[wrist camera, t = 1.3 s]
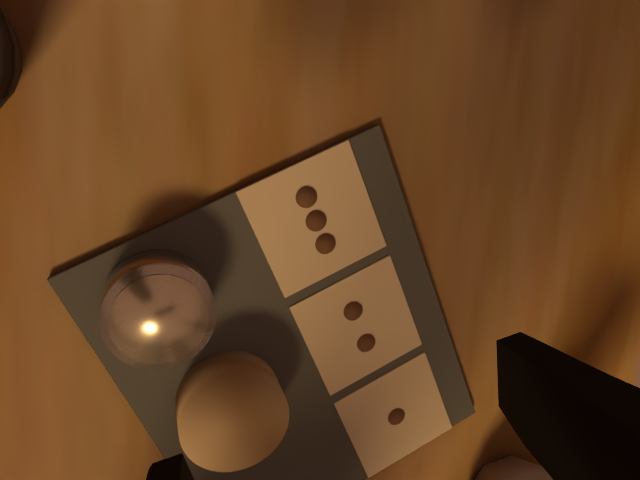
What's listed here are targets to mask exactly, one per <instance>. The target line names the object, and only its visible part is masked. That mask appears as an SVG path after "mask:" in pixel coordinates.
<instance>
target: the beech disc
mask: <svg viewBox="0 0 640 480" xmlns="http://www.w3.org/2000/svg"><path fill="white" fill-rule="evenodd" d="M175 407H176V417H177V426H178V435H179V441H180V444H181V447H182V449H183V451H184V453H185V454H186V455H187V457H188V458H189V459H190V460H191V461H192V462H194V463H195V464H197V465H198V466H200V467H202V468H204V469H207V470H211V471H216V472H233V471H239V470H242V469H246V468H248V467H251V466H253V465H255V464H257V463H259V462H260V461H262V460H263V459H265V458H266V457H267V456H269V455H270V454H271V453H272V452H273V451H274V450H275V449H276V447H277V446H278V445H279V444H280V442H281V441H282V439H283V437H284V435H285V433H286V430H287V427H288V423H289V406H288V402H287V400H286V397H285V395H284V393H283V391H282V389H281V386H280V384H279V382H278V380H277V378H276V376H275V374H274V372H273V370H272V368H271V367H270V366H269V365H268V363H267V362H265V361H264V360H263V359H262V358H260V357H258V356H257V355H254V354H252V353H249V352H245V351H236V350H232V351H223V352H219V353H216V354H213V355H210V356H208V357H206V358H204V359H203V360H201V361H199V362H198V363H197V364H195V365H194V366H193V367H192V368H191V369H190V370H189V371H188V372H187V373H186V375H185V376H184V377H183V379H182V381H181V383H180V385H179V387H178V390H177V393H176V399H175Z"/></svg>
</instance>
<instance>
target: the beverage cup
mask: <svg viewBox="0 0 640 480" xmlns="http://www.w3.org/2000/svg"><path fill="white" fill-rule="evenodd" d="M20 74H21V49H20V47H19V44H18V41H17V38H16V35H15V32H14V30H13V27H12V25H11V24H10V23H9V21H8V19H7V17H6V16H5V15H4V13H3V12H2V11H1V9H0V108H1V107H2V106H3V105H4V104H5V102H6V101H7V100H8V99H9V98H10V97H11V95H12V94H13V93H14V91H15V88H16V85H17V83H18V80H19V77H20Z"/></svg>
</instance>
